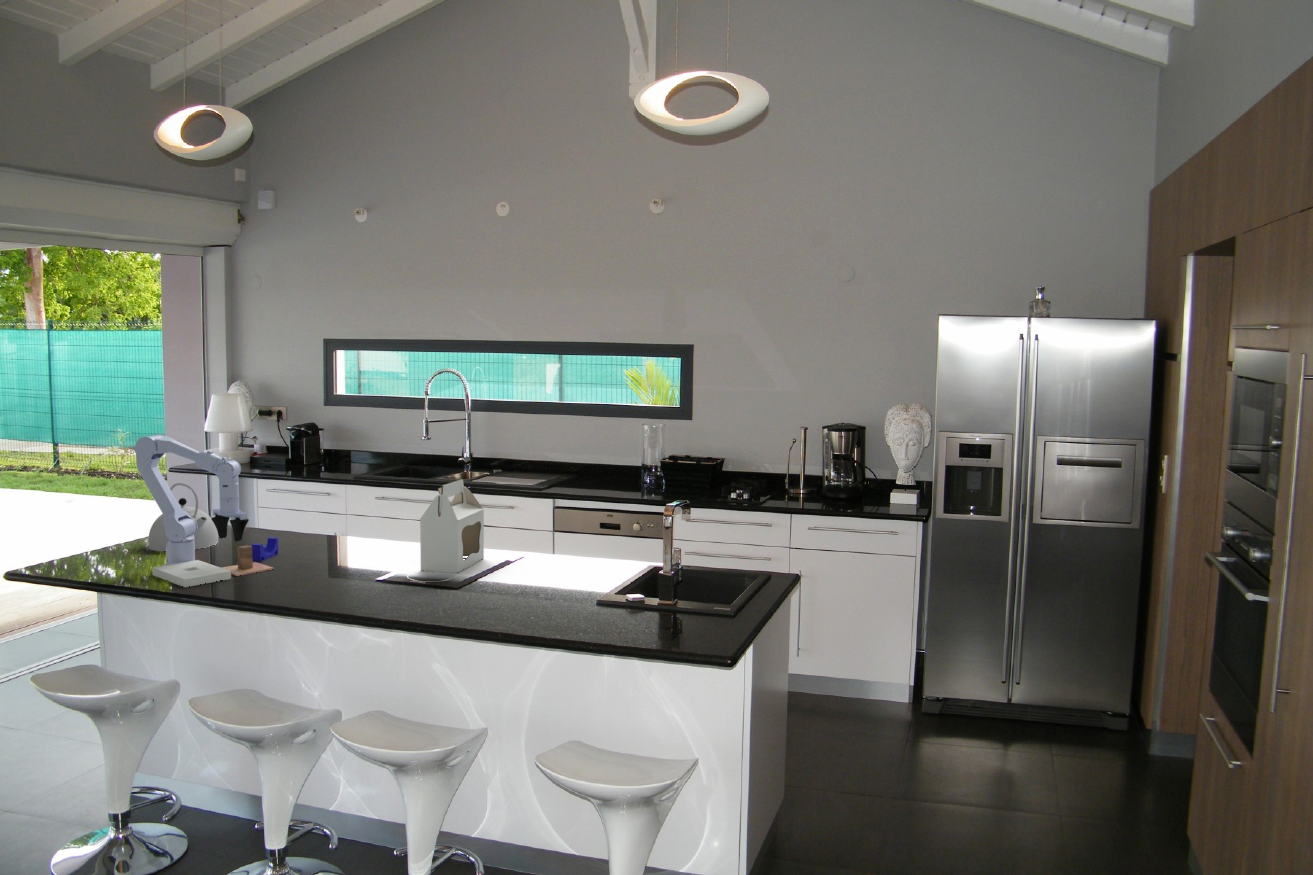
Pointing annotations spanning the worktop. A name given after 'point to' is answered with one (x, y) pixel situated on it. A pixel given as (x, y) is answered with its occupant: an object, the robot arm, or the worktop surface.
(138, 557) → the worktop surface
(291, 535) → the worktop surface
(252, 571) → the terracotta tile
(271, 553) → the cable clip
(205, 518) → the kettle
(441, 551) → the gable box
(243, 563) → the walnut peg
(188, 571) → the board
